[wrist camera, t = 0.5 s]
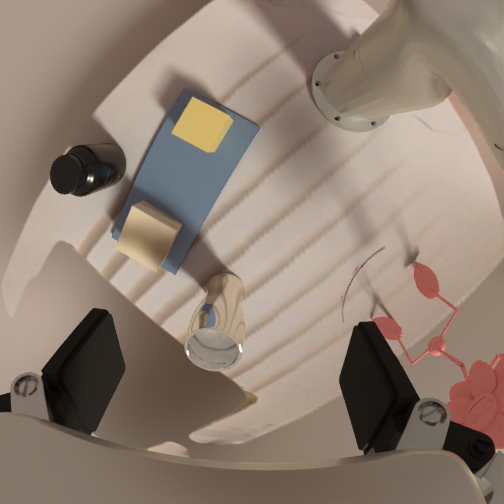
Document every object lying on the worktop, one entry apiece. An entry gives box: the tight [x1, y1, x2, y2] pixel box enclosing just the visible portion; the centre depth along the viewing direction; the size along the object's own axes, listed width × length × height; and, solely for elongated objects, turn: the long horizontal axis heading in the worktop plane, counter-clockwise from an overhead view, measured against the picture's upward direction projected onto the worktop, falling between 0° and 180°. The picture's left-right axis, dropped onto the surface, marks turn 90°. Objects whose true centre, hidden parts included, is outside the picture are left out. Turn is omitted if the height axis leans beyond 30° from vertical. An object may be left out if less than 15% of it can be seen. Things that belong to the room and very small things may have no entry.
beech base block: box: [115, 200, 183, 272], centre depth 39 cm, size 7×7×4 cm
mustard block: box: [172, 97, 233, 152], centre depth 32 cm, size 5×5×6 cm
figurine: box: [342, 248, 504, 451], centre depth 28 cm, size 15×26×35 cm, turn 146°
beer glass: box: [184, 273, 245, 371], centre depth 37 cm, size 7×7×15 cm
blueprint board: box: [112, 89, 260, 275], centre depth 38 cm, size 25×12×1 cm, turn 149°
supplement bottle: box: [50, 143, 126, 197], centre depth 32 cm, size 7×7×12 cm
